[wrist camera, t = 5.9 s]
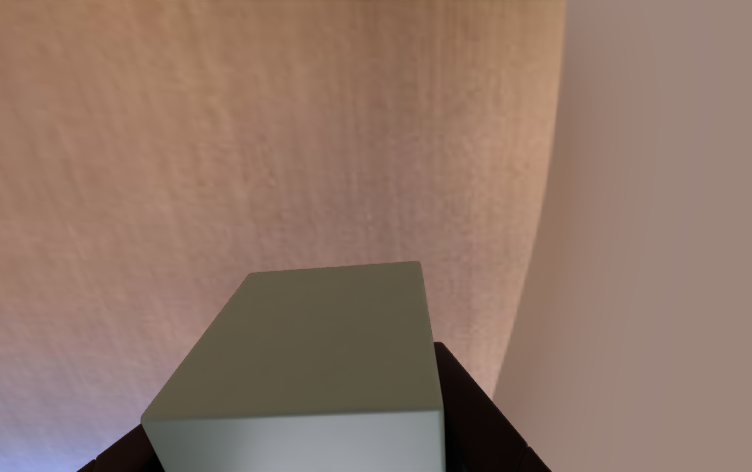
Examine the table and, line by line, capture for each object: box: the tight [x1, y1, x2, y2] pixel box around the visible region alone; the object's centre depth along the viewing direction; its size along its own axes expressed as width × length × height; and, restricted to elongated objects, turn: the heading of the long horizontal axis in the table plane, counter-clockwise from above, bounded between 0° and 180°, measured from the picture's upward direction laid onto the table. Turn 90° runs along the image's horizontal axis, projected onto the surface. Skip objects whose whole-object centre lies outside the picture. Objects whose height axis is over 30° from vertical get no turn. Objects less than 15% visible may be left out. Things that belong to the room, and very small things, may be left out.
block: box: [141, 261, 446, 472], centre depth 8 cm, size 4×4×4 cm
